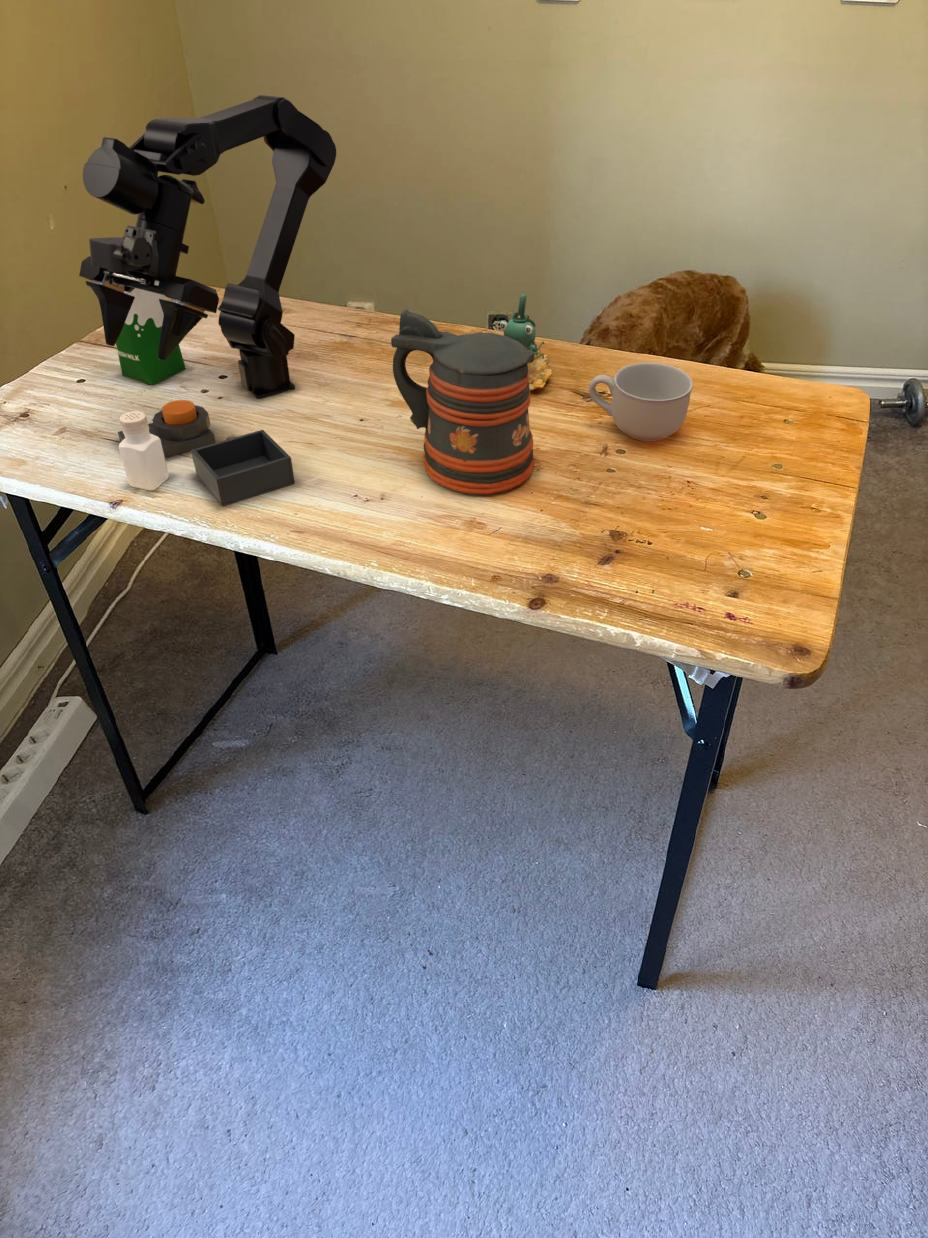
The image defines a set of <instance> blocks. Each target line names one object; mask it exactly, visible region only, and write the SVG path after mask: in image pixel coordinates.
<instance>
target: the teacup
mask: <svg viewBox="0 0 928 1238" xmlns="http://www.w3.org/2000/svg"><path fill="white" fill-rule="evenodd" d="M599 384H604V385H606V386H607V387H608V389H609V394H610V396H611V402H609V401H608V400H605V399H604V398H602V397H601V396H600V395H599V394H598V392H597V390H596V388H597V386H598V385H599ZM693 389H694V381H693V379H692V377H691V375H689V374H688V373H687V372H686V371H684V370H682V369H681V368H678V367H676V366H674V365H670V364H668V363H663V362H653V361H651V362H650V361H649V362H647V361H644V362H643V361H642V362H635V363H630V364H628V365H624V366H622V367H621V368H619V369H618V370H617V371H616V373H615V374H614V376H613V378H612V377H611V376H610V375H607V374H598V375H595V376H594V377H593V378H592V379H591V380H590V382H589V384H588V395H589V397H590V399H591V400H592V402H593V403H594V404H596V405H597V406H598V407H600V408H601V409H603V411H606V414H607V415H608V416H609V417H612V421H613V422H614V424H615V426H616V427H617V428H618V429H619V430H621V431H622V433H624V434H625V435H626V436H628V437H630V438H632V439H634V440H637V441H642V442H657V441H660V440H663V439H666V438H667V437H669V436H672V435H673V434H675V433H676V432H678V431H679V430H680V429H681V427H682V426H683V425H684V423H685V421H686V417H687V414H688V410H689V406H690V401H691V400H690V399H691V394H692V391H693Z"/></svg>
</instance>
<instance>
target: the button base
mask: <svg viewBox="0 0 928 1238" xmlns="http://www.w3.org/2000/svg"><path fill="white" fill-rule="evenodd" d="M194 405H195V409H196V414H197V418H196V419H195V420H194V421H192V422H190V423H186V424H182V425H171V424H167V423H165V421H164V417H163V413H162V409H161V410H159V411H158V412H156V413H155V414H154V416H153V418H152V421H151V423H148V426H149V432H150V434H153V435H155V436H158V437H159V438H160V440H161V445H162V449H163V453H164V457H165V459H168V458H172V457H174V456H175V457H176V456H179V455H183V454H186V453H189V452H190V453H191V450H193V449H196V448H200V447H203V446H207V445H210V444H214V443H216V439H215V434H214V433H213V431H212V430H211V429H210V426H211V421H210V416H209V412H208V411H207V410H206V409H205V407H203V406H201V405H196V404H194ZM117 435H118V438H119V442H120V443H121V442H122V441H123V440H124V439H125V435H124V433H123V430H120V431H117ZM120 443H119V444H120Z"/></svg>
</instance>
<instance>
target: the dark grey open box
mask: <svg viewBox="0 0 928 1238" xmlns="http://www.w3.org/2000/svg"><path fill="white" fill-rule="evenodd" d="M190 453H191V456H192V460H193V465H194V469H195V473H196V477H197V479H198V480H199V481H200V482H201V483H202V484H203V485H204V487H205V488H206V489H207V491H208V492H209V493H210V494H211V496H212V497H213V498H214V500H215V501H216V502H218V504H219V505H220V507H222V508H223V507H226V506H229V505H233V504H236V503H239V502H241V501H245V500H248V499H252V498H255V497H257V496H261V495H264V494H267V493H271V492H274V491H277V490H280V489H283V488H285V487H290V486H294V485H295V484H296V482H295V475H294V469H293V462H292V456H290V455H289V454H288V453H287V452H286V451H285V449H283V448H282V447H281V445H279V444H278V443H277V441H275V439H273V438H272V437H271V436H270V435H269V434H268V432H266V431H265V430H264V429H260V430H256V431H252V432H249V433H246V434H243V435H239V436H235V437H232V438H229V439H225V440H221V441H217V442H215V443H214V444H210V445H207V446H203V447H200V448H196V449H193V450H191V451H190Z"/></svg>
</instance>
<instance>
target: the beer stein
mask: <svg viewBox="0 0 928 1238" xmlns="http://www.w3.org/2000/svg"><path fill="white" fill-rule="evenodd" d="M398 328H399V329H398V330H399V331H398V333H397V334H395V335H393V336H392V337H391V338H390V343H391V347H392V348H395V352H394V354H393V358H392V374H393V378H394V382H395V384H396V387H397V389H398V391H399V393H400V395H401V396H402V398H403V401H404V402H405V403H406V405H407V406H408V408H409V410H410V411H411V416H409V420H410V422H411V423H412V424H413V425H414V426H415V427H416V429H417V430H420V428H424V429H425V430H424V437H423V438H424V443H423V452H424V454H423V466H424V467H423V468H424V470H425V471H426V474H427V475H428V477H429V478H430V479H431V480H432V481H433V483H436V484H437V485H439V486H441V487H443V488H446V489H447V490H451V491H454V492H458V493H462V494H468V495H475V496H486V495H496V494H500V493H504V492H508V491H510V490H512V489H516V488H518V487H519V486H521V485H522V484H524V483H525V482H527V481H528V479H529V478H530V477H531V476H532V474H533V472H534V471H533V470H534V468H535V461H534V459H535V458H534V449H533V448H534V436H533V433H532V431H531V429H530V414H529V413H530V411H529V407H530V405H531V400H532V399H531V391H530V388H529V380H528V365H527V364H528V363H531V362H533V361H534V352H528V350H527V349H526V348H525V347H524V346H523V345H522V344H521V343H519V342H518V341H516V340H514V339H512V338H509V337H507V336H504V334H503V335H502V334H499V333H493V332H473V333H472V332H471V333H464V334H459V335H457V334H455V333H453V332H451V331H450V332H449V331H441V330H438V328H437V326H436V325H435V324H434V323H433V322H432V321H431V320H430V319H428V318H426V317H425V316H424V315H422V314H419V313H416V312H412V311H409V310H408V309H403V310H402V312H401V313H400V317H399V327H398ZM414 351H420V352H424V353H426V354H428V355H429V356H430V357H431V359H432V363H431V364H430V366H429V368H428V374H429V376H428V379H427V386H422V385H420V384H419V383H417V382H416V381H415V380H413V379H412V378H411V377H410V375H409V373H408V371H407V367H406V366H407V365H406V362H407V357H408V356H409V354H410V353H412V352H414Z"/></svg>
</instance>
